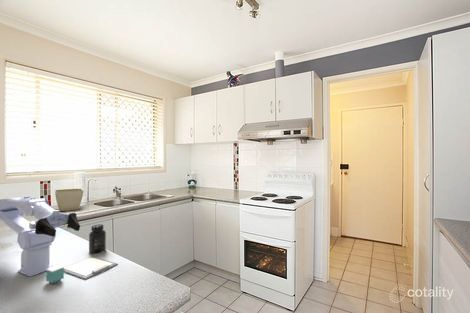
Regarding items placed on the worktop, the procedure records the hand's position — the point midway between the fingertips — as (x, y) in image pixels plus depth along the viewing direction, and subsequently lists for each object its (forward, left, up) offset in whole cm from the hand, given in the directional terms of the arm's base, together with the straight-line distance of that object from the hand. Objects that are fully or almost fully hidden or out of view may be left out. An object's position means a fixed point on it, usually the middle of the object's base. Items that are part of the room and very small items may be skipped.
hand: (67, 230), depth 80 cm
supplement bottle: (-17, +23, -18) cm, 34 cm away
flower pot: (-127, +71, -18) cm, 147 cm away
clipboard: (-4, +11, -18) cm, 21 cm away
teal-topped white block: (-4, -1, -18) cm, 19 cm away
